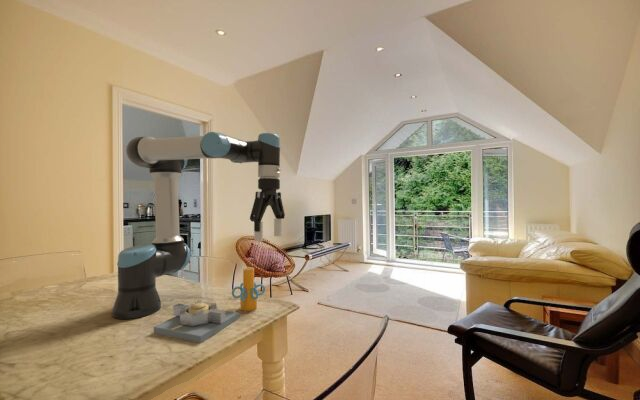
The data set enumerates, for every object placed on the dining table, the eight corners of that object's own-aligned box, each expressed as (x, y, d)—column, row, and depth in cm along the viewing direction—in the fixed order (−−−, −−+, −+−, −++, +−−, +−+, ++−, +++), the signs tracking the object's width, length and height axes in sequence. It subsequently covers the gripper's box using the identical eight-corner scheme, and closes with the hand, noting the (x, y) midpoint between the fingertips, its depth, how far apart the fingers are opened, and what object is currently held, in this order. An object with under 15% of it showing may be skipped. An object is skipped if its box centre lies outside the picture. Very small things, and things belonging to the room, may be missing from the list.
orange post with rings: (255, 315, 101) (254, 273, 101) (227, 313, 103) (227, 271, 103) (268, 303, 113) (268, 265, 113) (243, 301, 115) (243, 264, 115)
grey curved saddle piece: (162, 320, 92) (162, 308, 92) (188, 308, 102) (188, 296, 102) (210, 329, 85) (210, 316, 85) (233, 315, 96) (233, 303, 96)
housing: (153, 333, 88) (153, 311, 88) (197, 311, 105) (197, 293, 105) (200, 343, 82) (200, 320, 82) (238, 318, 99) (238, 299, 99)
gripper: (259, 175, 88) (259, 244, 89) (293, 180, 112) (293, 234, 112) (238, 175, 91) (238, 243, 91) (276, 180, 114) (276, 233, 115)
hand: (268, 238), depth 102 cm, fingers open, 13 cm apart
